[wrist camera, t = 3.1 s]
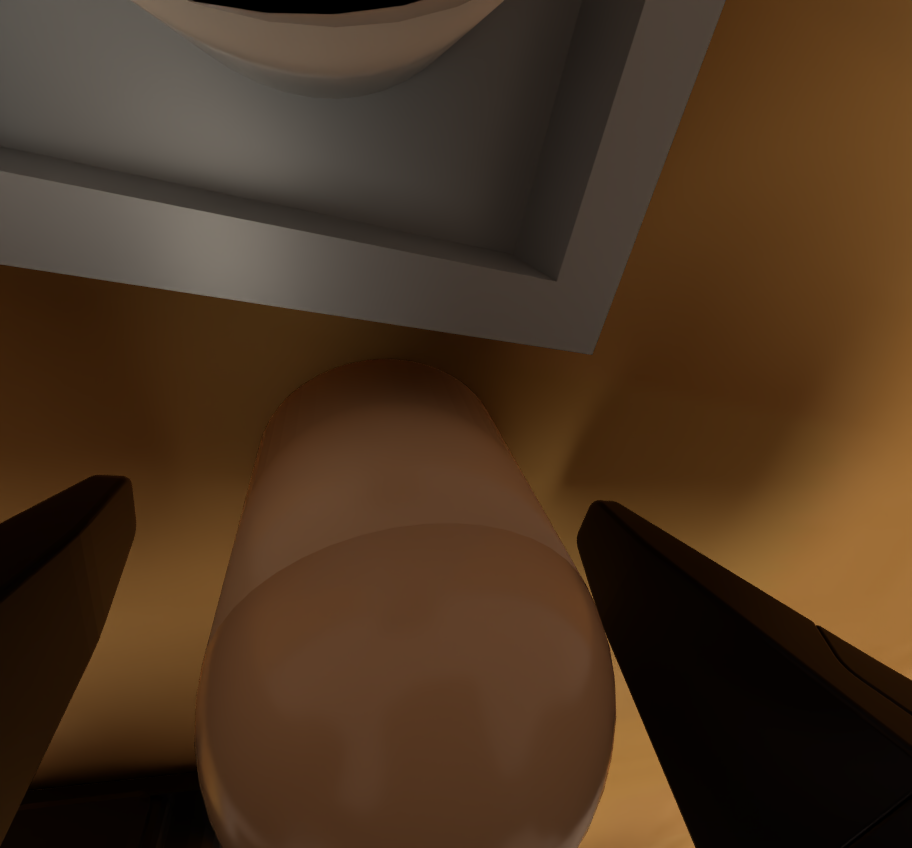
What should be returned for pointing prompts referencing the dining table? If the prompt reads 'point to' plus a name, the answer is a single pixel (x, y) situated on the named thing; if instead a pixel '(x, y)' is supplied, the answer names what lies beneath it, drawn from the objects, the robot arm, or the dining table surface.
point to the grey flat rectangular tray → (351, 166)
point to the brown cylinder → (399, 635)
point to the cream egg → (322, 39)
